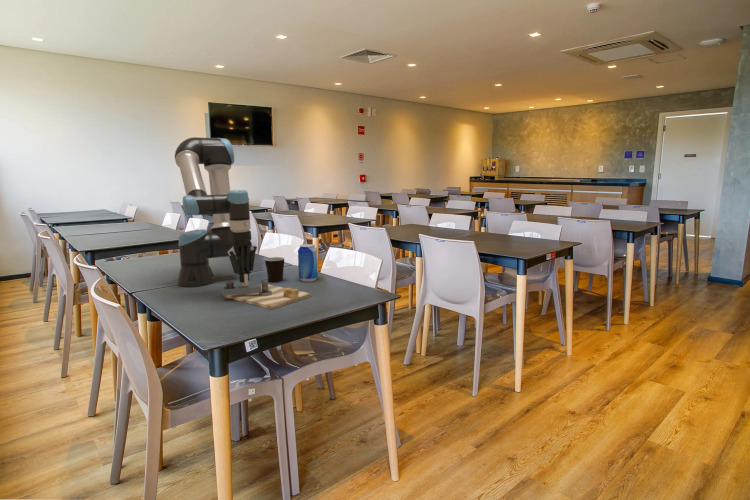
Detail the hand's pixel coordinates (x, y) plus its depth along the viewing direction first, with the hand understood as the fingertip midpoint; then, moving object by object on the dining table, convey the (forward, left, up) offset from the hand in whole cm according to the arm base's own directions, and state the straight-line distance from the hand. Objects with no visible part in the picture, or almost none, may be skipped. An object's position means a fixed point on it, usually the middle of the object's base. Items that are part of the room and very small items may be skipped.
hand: (245, 289), depth 171 cm
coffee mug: (-10, +26, -3) cm, 28 cm away
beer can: (+2, +34, -3) cm, 34 cm away
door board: (+8, +4, -3) cm, 9 cm away
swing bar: (+2, -3, 0) cm, 3 cm away
